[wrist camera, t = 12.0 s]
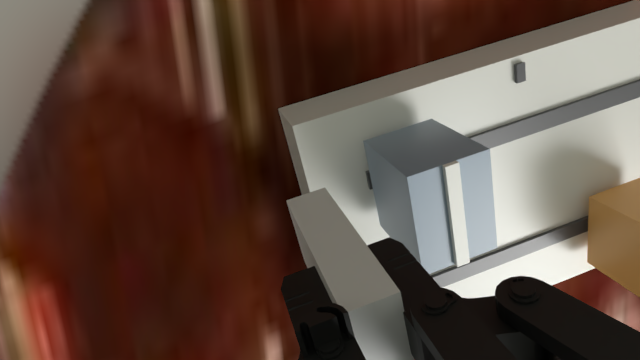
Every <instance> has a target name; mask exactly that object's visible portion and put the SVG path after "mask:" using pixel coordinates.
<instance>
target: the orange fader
mask: <svg viewBox="0 0 640 360" xmlns="http://www.w3.org/2000/svg"><path fill="white" fill-rule="evenodd" d="M587 262H588V263H589V264H591V265H592V266H594V267H595V268H597V269H598V270H600V271H601V272H603V273H604V274H605V275H607V276H608V277H610V278H611V279H613V280H614V281H616V282H617V283H619V284H620V285H622V286H623V287H625V288H626V289H628V290H629V291H631V292H632V293H634V294H635V295H637V296H638V297H640V178H637V179H635V180H632V181H629V182H627V183H624V184H621V185H619V186H616V187H613V188H611V189H608V190H605V191H603V192H600V193H597V194H595V195H592V196H589V212H588V251H587Z"/></svg>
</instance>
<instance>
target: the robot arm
mask: <svg viewBox="0 0 640 360" xmlns="http://www.w3.org/2000/svg"><path fill="white" fill-rule="evenodd" d="M286 202H287V205H288V209H289V212H290V215H291V218H292V222H293V225H294V228H295V232H296V235H297V238H298V242H299V245H300V248H301V251H302V255H303V258H304V261H305V264H306V266H307V269H304V270H302V271H299V272H296V273H293V274H291V275H288V276H285V277H284V279H283V283H282V287H281V291H282V294H283V297H284V300H285V303H286V306H287V309H288V312H289V315H290V318H291V321H292V324H293V327H294V330H295V334H296V337H297V340H298V343H299V346H300V356H299V359H298V360H414V359H415V360H640V332H639V331H637V330H635V329H633V328H631V327H629V326H627V325H625V324H623V323H621V322H620V321H618V320H616V319H614V318H612V317H610V316H608V315H606V314H604V313H603V312H601V311H599V310H597V309H595V308H593V307H591V306H589V305H587V304H585V303H584V302H582V301H580V300H578V299H576V298H574V297H572V296H570V295H568V294H566V293H565V292H563V291H561V290H559V289H557V288H555V287H553V286H551V285H549V284H548V283H546V282H544V281H542V280H539V279H536V278H533V277H527V276H516V277H510V278H508V279H505V280H503V281H501V282H500V283H499V284H498V285H497V286H496V290H495V296H488V297H480V298H461V297H460V296H459V295H458V294H457V293H455V292H454V291H452V290H449V289H446V288H441V287H440V286H439V285H438V284H437V283H436V281H435V280H434V279H433V278H432V277H431V276H430V274H429V273H428V272H427V271H426V270H425V269H424V268H423V266H422V265H421V264H420V263H419V262H418V261H417V260H416V258H415V257H414V256H413V255H412V254H411V253H410V251H409V250H408V249H407V248H406V247H405V246H404V244H403V243H401V242H399V241H397V240H394V239H392V238H390V237H388V238H386V239H383V240H380V241H378V242H375V243H372V244H369V245H366V243H365V242H364V241H363V239H362V238H361V236H360V235H359V234H358V232H357V231H356V229H355V228H354V227H353V225H352V224H351V223H350V221H349V220H348V218H347V217H346V216H345V214H344V213H343V211H342V210H341V209H340V207H339V206H338V205H337V203H336V202H335V200H334V199H333V198H332V196H331V195H330V194H329V192H328V191H327V189H326V188H325V187H324V188H321V189H318V190H315V191H313V192H310V193H307V194H304V195H301V196H298V197H295V198H292V199H289V200H286Z"/></svg>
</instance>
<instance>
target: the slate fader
mask: <svg viewBox="0 0 640 360" xmlns="http://www.w3.org/2000/svg"><path fill="white" fill-rule="evenodd" d="M363 142H364V147H365V152H366V157H367V162H368V167H369V172H370V177H371V182H372V187H373V192H374V197H375V202H376V207H377V212H378V217H379V222H380V226H381V227H382V228H383V229H384V230H385V232H386V233H387V234H388V235H389V236H390V238H392V239H394V240H397V241H399V242H401V243H403V244H404V246H405V247H406V248H407V249H408V250H409V251H410V253H411V254H412V255H413V256H414V257H415V258H416V260H417V261H418V262H419V263H420V264H421V265H422V266H423V268H424V269H425V270H426V271H427V272H428V273H429V274H430V273H433V272H436V271H438V270H441V269H444V268H446V267H449V266H451V265H454V264H455V265H456V266H457V267H459V266H462V265H465V264H467V263H470V258H472V257H475V256H478V255H480V254H483V253H486V252H488V251H491V250H493V249H496V248H497V235H496V222H495V209H494V196H493V183H492V169H491V156H490V149H489V148H487V147H485V146H484V145H482V144H480V143H478V142H476V141H474V140H472V139H470V138H468V137H466V136H464V135H462V134H460V133H458V132H456V131H454V130H453V129H451V128H449V127H447V126H445V125H443V124H441V123H439V122H437V121H435V120H433V119H429V120H426V121H423V122H420V123H417V124H414V125H411V126H407V127H404V128H401V129H398V130H395V131H392V132H389V133H386V134H383V135H380V136H377V137H374V138H370V139H367V140H364V141H363Z"/></svg>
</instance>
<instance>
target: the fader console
mask: <svg viewBox="0 0 640 360" xmlns="http://www.w3.org/2000/svg"><path fill="white" fill-rule="evenodd" d="M278 111H279V115H280V118H281V122H282V125H283V129H284V133H285V136H286V140H287V143H288V147H289V151H290V154H291V158H292V161H293V165H294V169H295V172H296V176H297V179H298V183H299V187H300V190H301V194H302V195H304V194H307V193H310V192H313V191H315V190H318V189H321V188H324V187H325V188H326V189H327V191H328V192H329V194H330V195H331V196H332V198H333V199H334V200H335V202H336V203H337V205H338V206H339V207H340V209H341V210H342V211H343V213H344V214H345V216H346V217H347V218H348V220H349V221H350V223H351V224H352V225H353V227H354V228H355V229H356V231H357V232H358V234H359V235H360V236H361V238H362V239H363V241H364V242H365V243H366V245H369V244H372V243H375V242H378V241H380V240H383V239H386V238H388V237H390V236H389V235H388V234H387V233H386V232H385V230H384V229H383V228H382V227H381V226H380V222H379V217H378V212H377V207H376V202H375V197H374V192H373V187H372V182H371V177H370V172H369V167H368V162H367V157H366V152H365V147H364V142H363V141H364V140H367V139H370V138H374V137H377V136H380V135H383V134H386V133H389V132H392V131H395V130H398V129H401V128H404V127H407V126H411V125H414V124H417V123H420V122H423V121H426V120H429V119H433V120H435V121H437V122H439V123H441V124H443V125H445V126H447V127H449V128H451V129H453V130H454V131H456V132H458V133H460V134H462V135H464V136H466V137H468V138H470V139H472V140H474V141H476V142H478V143H480V144H482V145H484V146H485V147H487V148H489V149H490V156H491V169H492V183H493V196H494V209H495V222H496V235H497V248H496V249H493V250H491V251H488V252H486V253H483V254H480V255H478V256H475V257H472V258H470V263H467V264H465V265H462V266H459V267H457V266H456V265H455V264H454V265H451V266H449V267H446V268H444V269H441V270H438V271H436V272H433V273H430V276H431V277H432V278H433V279H434V280H435V281H436V283H437V284H438V285H439V286H440V287H441V288H446V289H449V290H452V291H454V292H455V293H457V294H458V295H459V296H460V297H461V298H480V297H488V296H495V290H496V286H497V285H498V284H499V283H500V282H501V281H503V280H505V279H508V278H510V277H516V276H527V277H533V278H536V279H539V280H542V281H544V282H546V283H548V284H549V285H551V286H552V285H554V284H557V283H559V282H562V281H564V280H567V279H569V278H572V277H574V276H576V275H579V274H581V273H584V272H586V271H589V270H591V269H594V268H595V267H594V266H592V265H591V264H589V263H588V262H587V251H588V212H589V196H592V195H595V194H597V193H600V192H603V191H605V190H608V189H611V188H613V187H616V186H619V185H621V184H624V183H627V182H629V181H632V180H635V179H637V178H640V0H633V1H630V2H627V3H623V4H620V5H617V6H613V7H610V8H607V9H604V10H600V11H597V12H594V13H590V14H587V15H584V16H581V17H577V18H574V19H571V20H567V21H564V22H561V23H558V24H554V25H551V26H548V27H544V28H541V29H538V30H535V31H531V32H528V33H525V34H521V35H518V36H515V37H512V38H508V39H505V40H502V41H498V42H495V43H492V44H489V45H485V46H482V47H479V48H475V49H472V50H469V51H465V52H462V53H459V54H456V55H452V56H449V57H446V58H442V59H439V60H436V61H433V62H429V63H426V64H423V65H419V66H416V67H413V68H410V69H406V70H403V71H400V72H396V73H393V74H390V75H387V76H383V77H380V78H377V79H373V80H370V81H367V82H364V83H360V84H357V85H354V86H350V87H347V88H344V89H341V90H337V91H334V92H331V93H327V94H324V95H321V96H318V97H314V98H311V99H308V100H304V101H301V102H298V103H295V104H291V105H288V106H285V107H281V108H278Z"/></svg>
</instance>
